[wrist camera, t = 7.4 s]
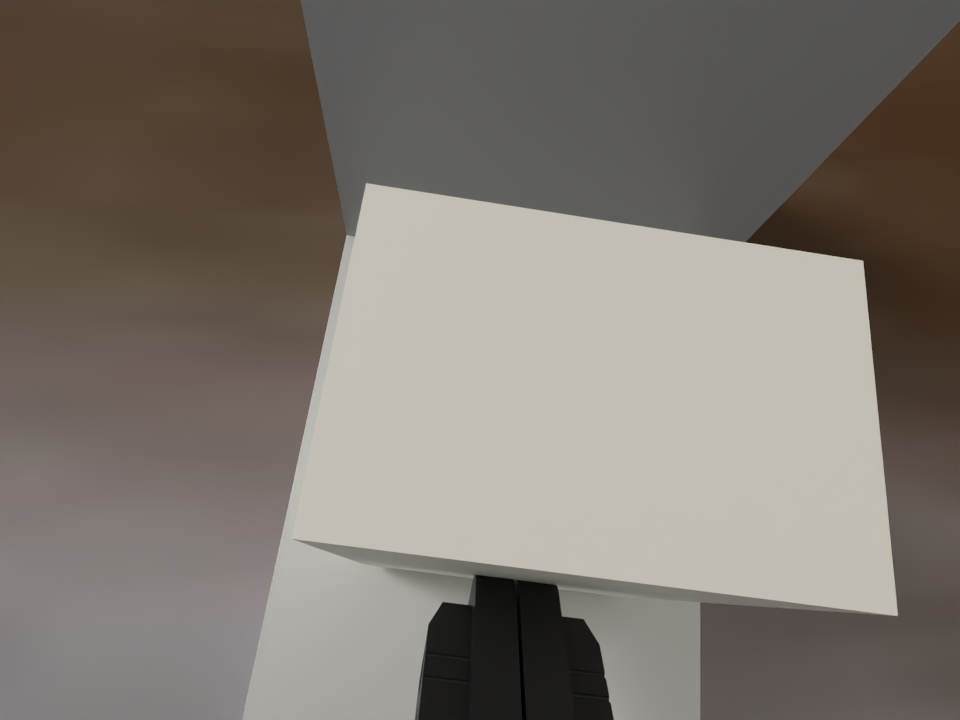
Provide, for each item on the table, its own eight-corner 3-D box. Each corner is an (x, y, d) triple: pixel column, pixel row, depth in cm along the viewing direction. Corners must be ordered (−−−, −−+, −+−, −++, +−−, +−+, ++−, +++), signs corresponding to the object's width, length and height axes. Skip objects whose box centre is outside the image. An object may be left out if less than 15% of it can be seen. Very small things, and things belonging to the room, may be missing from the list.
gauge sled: (363, 564, 14) (291, 538, 6) (400, 351, 16) (384, 100, 8) (705, 607, 15) (1088, 640, 6) (705, 395, 17) (1005, 201, 8)
